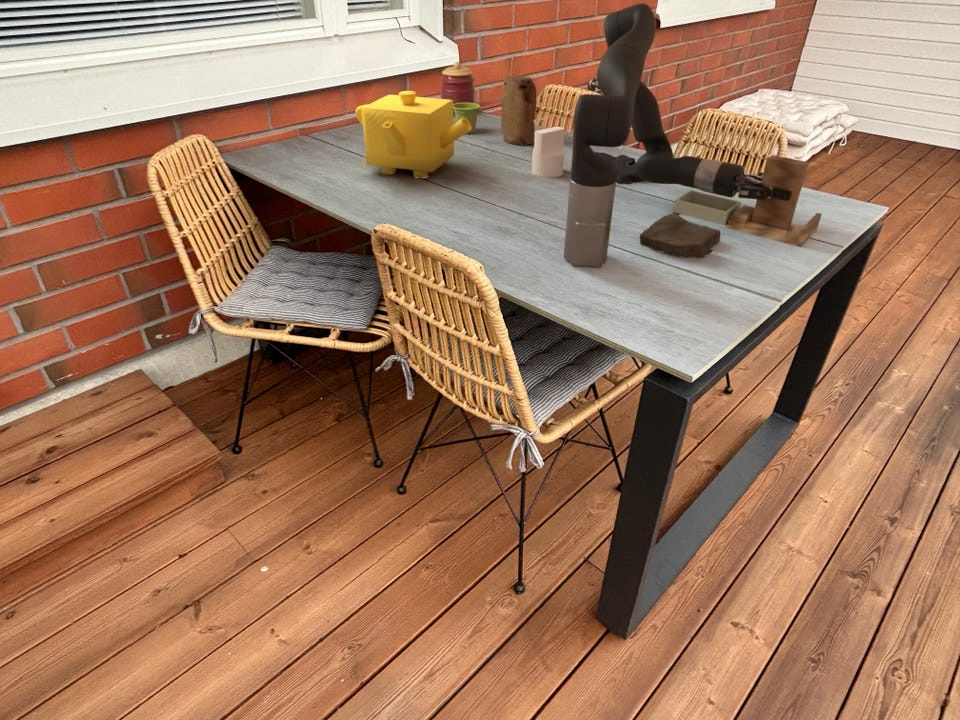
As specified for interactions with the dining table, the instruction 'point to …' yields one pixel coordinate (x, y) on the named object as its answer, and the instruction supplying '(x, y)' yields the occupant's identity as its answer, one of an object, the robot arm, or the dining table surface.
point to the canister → (457, 84)
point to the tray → (706, 207)
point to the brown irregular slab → (680, 237)
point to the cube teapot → (410, 132)
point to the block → (518, 110)
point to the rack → (793, 236)
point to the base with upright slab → (548, 152)
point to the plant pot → (467, 113)
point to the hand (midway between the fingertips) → (792, 193)
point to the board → (784, 177)
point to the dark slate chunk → (623, 168)
